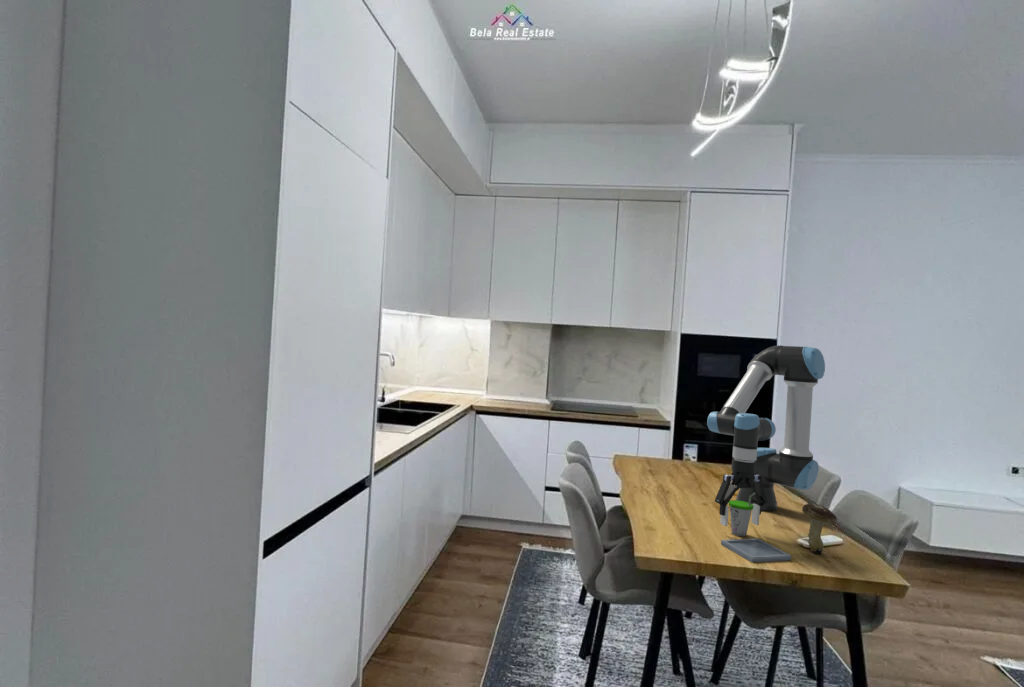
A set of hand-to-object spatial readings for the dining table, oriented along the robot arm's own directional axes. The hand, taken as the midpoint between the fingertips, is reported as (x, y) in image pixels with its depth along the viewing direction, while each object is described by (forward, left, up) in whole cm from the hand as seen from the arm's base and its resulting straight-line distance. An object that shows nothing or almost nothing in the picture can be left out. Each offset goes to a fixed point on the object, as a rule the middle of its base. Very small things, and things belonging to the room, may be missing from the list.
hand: (739, 524), depth 188 cm
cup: (0, 0, -3) cm, 3 cm away
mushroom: (-14, +18, -3) cm, 23 cm away
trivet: (+6, +15, -3) cm, 16 cm away
